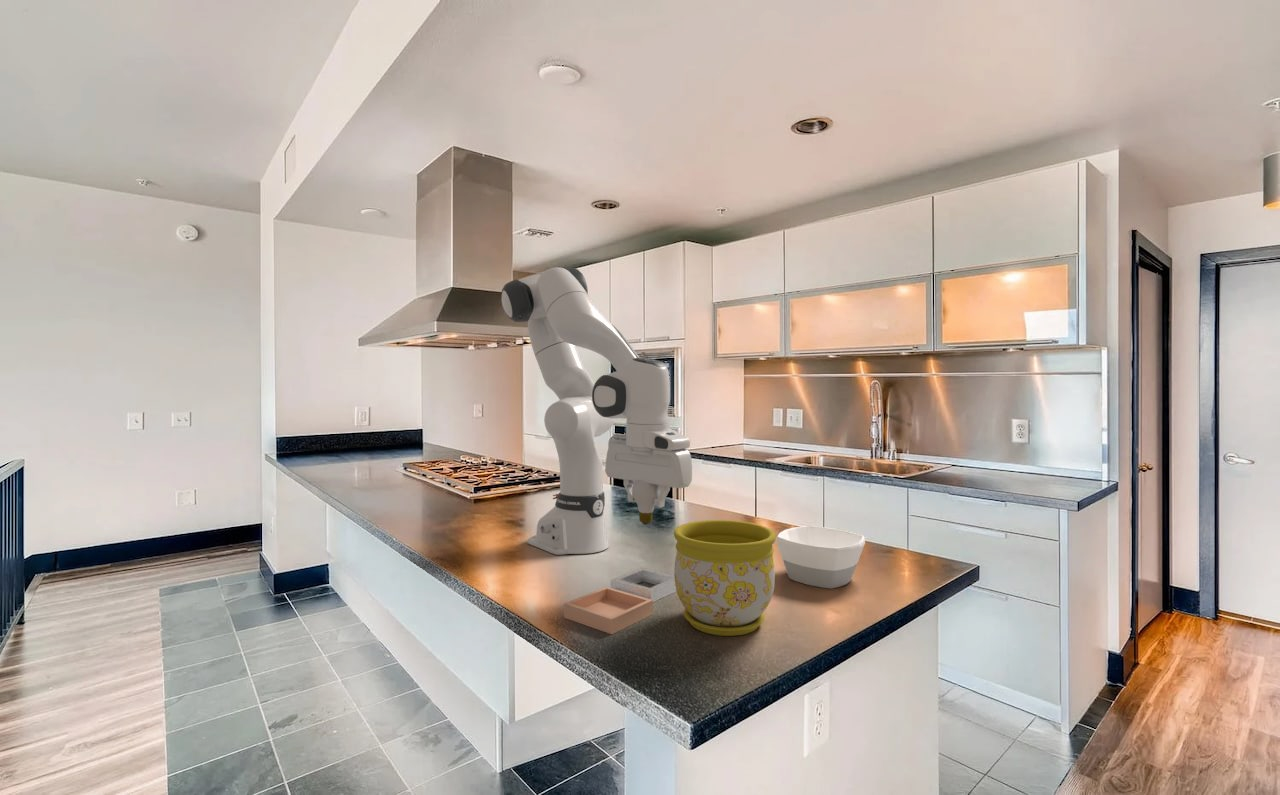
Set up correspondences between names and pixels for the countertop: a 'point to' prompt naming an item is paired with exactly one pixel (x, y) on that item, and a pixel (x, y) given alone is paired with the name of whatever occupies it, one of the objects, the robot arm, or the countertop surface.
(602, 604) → the tray
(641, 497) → the light bulb
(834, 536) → the bowl
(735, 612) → the flowerpot
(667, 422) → the robot arm
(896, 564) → the countertop surface
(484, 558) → the countertop surface
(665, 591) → the socket collar
